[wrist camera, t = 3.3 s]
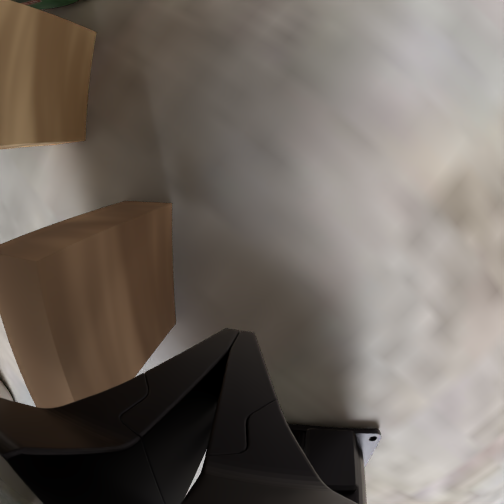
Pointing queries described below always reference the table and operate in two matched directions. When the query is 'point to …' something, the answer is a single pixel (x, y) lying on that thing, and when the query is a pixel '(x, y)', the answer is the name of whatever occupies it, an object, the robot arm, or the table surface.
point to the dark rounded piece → (4, 392)
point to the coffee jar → (45, 3)
